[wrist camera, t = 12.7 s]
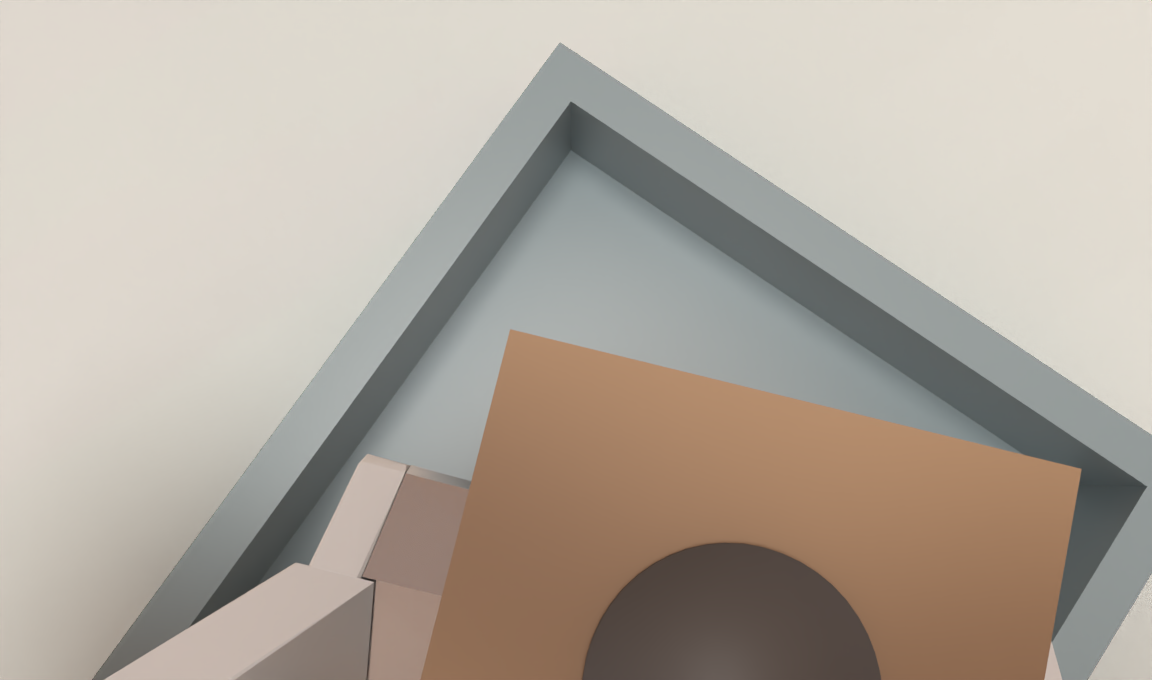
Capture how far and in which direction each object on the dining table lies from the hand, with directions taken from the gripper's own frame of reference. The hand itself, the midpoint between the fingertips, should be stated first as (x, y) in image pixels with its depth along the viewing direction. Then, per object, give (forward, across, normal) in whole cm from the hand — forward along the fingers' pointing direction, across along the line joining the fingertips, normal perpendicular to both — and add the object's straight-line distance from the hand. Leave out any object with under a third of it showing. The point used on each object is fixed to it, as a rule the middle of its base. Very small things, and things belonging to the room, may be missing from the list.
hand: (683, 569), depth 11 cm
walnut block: (+3, 0, +3) cm, 4 cm away
